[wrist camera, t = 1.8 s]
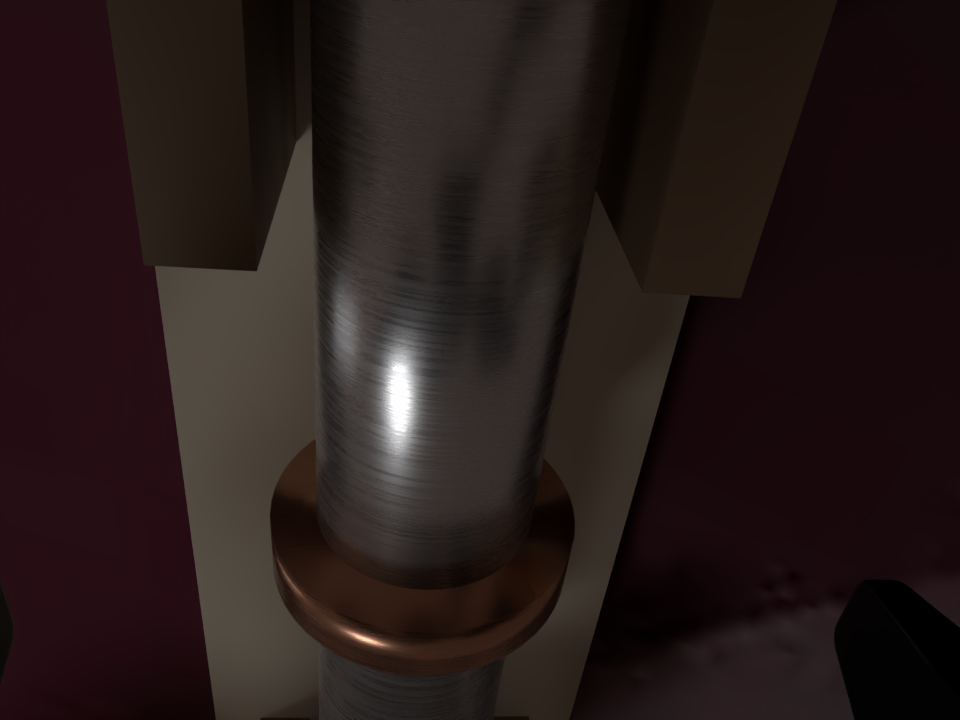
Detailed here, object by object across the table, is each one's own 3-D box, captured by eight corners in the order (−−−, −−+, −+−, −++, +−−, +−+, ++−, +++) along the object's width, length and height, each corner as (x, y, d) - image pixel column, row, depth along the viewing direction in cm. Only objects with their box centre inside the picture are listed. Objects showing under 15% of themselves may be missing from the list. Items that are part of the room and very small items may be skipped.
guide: (901, -585, 9) (1591, -1090, 4) (545, 753, 25) (584, 1028, 19) (51, -746, 8) (-632, -1740, 3) (231, 756, 23) (179, 1048, 18)
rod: (734, -523, 9) (1012, -780, 5) (508, 641, 19) (534, 861, 15) (254, -607, 8) (104, -979, 4) (297, 640, 19) (267, 869, 15)
